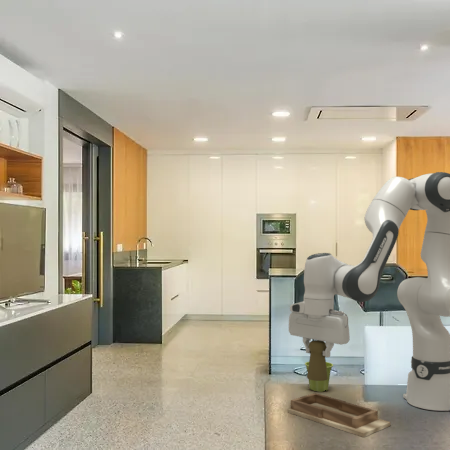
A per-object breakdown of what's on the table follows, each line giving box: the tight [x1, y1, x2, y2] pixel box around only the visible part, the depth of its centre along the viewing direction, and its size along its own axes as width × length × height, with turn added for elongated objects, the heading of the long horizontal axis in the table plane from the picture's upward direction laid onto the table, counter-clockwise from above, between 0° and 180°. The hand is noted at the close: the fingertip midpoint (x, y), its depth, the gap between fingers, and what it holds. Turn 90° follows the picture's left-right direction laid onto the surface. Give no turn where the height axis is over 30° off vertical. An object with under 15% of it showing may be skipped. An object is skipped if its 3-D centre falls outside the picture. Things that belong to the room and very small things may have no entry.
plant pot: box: [304, 361, 334, 393], centre depth 185 cm, size 9×9×9 cm
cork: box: [306, 339, 328, 381], centre depth 161 cm, size 6×6×11 cm
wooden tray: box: [287, 392, 392, 438], centre depth 155 cm, size 13×26×4 cm, turn 42°
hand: (317, 354), depth 161 cm, fingers closed on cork, 5 cm apart
